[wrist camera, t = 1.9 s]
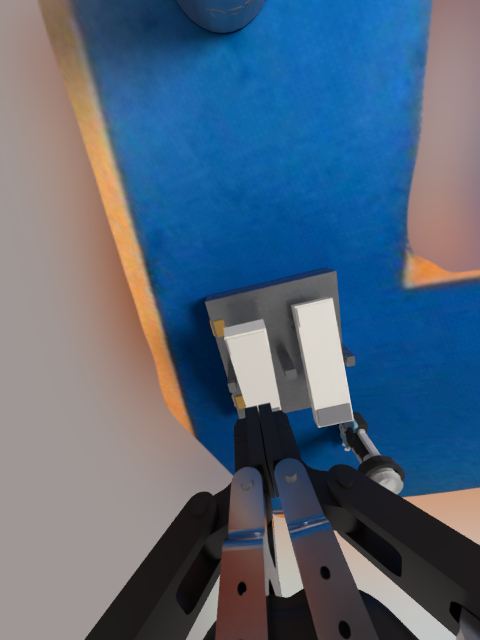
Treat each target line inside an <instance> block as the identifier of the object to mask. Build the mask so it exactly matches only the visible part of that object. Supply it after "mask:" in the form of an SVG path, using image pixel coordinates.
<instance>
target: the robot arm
mask: <svg viewBox="0 0 480 640" xmlns="http://www.w3.org/2000/svg"><path fill="white" fill-rule="evenodd" d="M265 1H266V0H177V2H178V4H179V6H180V7H181V9H182V10H183V11H184V12H185V13H186V14H187V16H188V17H189V18H190V19H191V20H193V21H194V22H195V23H197V24H198V25H199V26H201V27H203V28H205V29H207V30H209V31H213V32H219V33H226V32H233V31H235V30H238V29H240V28H242V27H244V26H245V25H247V24H248V23H249V22H250V21H252V20H253V19H254V18H255V16H256V15H257V14H258V13H259V11H260V10H261V9H262V7H263V5H264V3H265ZM258 409H259V411H258ZM234 443H235V444H234V446H235V475H234V476H233V478H232V482H231V483H230V484H229V485H228V486H227V487H226V488H225V489H224V490H222V491H221V492H219V493H217V494H215V495H214V496H213V495H212V494H210V493H209V492H199V493H197V494H195V495H194V496H193V497H191V499H190V500H189V501H188V502H187V503H186V505H185V506H184V508H183V509H182V510H181V511H180V513H179V514H178V516H177V517H176V518H175V519H174V521H173V522H172V523H171V525H170V526H169V527H168V529H167V530H166V531H165V533H164V534H163V535H162V537H161V538H160V539H159V541H158V542H157V544H156V545H155V546H154V548H153V549H152V550H151V552H150V553H149V554H148V556H147V557H146V558H145V560H144V561H143V562H142V564H141V565H140V566H139V568H138V569H137V570H136V572H135V573H134V574H133V576H132V577H131V578H130V580H129V581H128V582H127V584H126V585H125V586H124V588H123V589H122V590H121V592H120V593H119V594H118V596H117V597H116V598H115V600H114V601H113V602H112V604H111V605H110V606H109V608H108V609H107V610H106V612H105V613H104V615H103V616H102V617H101V618H100V620H99V621H98V622H97V624H96V625H95V626H94V628H93V629H92V630H91V632H90V633H89V634H88V636H87V637H86V638H85V640H186V638H187V636H188V634H189V632H190V630H191V628H192V626H193V624H194V623H195V621H196V619H197V617H198V615H199V613H200V611H201V609H202V607H203V605H204V603H205V602H206V600H207V597H208V596H209V594H210V592H211V590H212V588H213V586H214V585H215V583H216V581H217V579H218V577H219V575H220V583H219V596H218V608H217V620H216V621H215V622H214V624H213V625H212V626H211V628H210V629H209V631H208V632H207V634H206V636H205V637H204V639H203V640H419V639H418V638H417V637H416V636H415V635H414V634H413V633H412V632H411V631H410V630H409V629H408V628H407V627H406V626H405V625H404V624H403V623H402V622H401V621H400V620H399V619H398V618H397V617H396V616H395V615H394V614H393V613H392V612H391V611H390V610H389V609H388V608H387V607H386V606H384V605H383V604H382V603H381V602H379V601H378V600H377V599H375V598H373V597H372V596H371V595H369V594H367V593H365V592H363V591H361V590H358V589H357V586H356V584H355V581H354V579H353V576H352V574H351V572H350V569H349V567H348V564H347V562H346V560H345V557H344V555H343V552H342V550H341V548H340V545H339V543H338V541H337V538H336V536H335V534H334V531H333V530H335V531H337V532H338V534H339V535H340V536H341V537H342V538H344V539H345V540H346V541H347V542H348V543H349V544H350V545H352V546H353V547H354V548H355V549H356V550H357V551H358V552H360V553H361V554H362V555H363V556H364V557H365V558H367V559H368V560H369V561H370V562H371V563H372V564H373V565H375V566H376V567H377V568H378V569H379V570H380V571H382V572H383V573H384V574H385V575H386V576H387V577H388V578H390V579H391V580H392V581H393V582H394V583H395V584H396V585H398V586H399V587H400V588H401V589H402V590H403V591H405V592H406V593H407V594H408V595H409V596H410V597H411V598H413V599H414V600H415V601H416V602H417V603H418V604H419V605H421V606H422V607H423V608H424V609H425V610H426V611H428V612H429V613H430V614H431V615H432V616H433V617H434V618H436V619H437V620H438V621H439V622H440V623H441V624H442V625H444V626H445V627H446V628H447V629H448V630H449V631H451V632H452V633H453V634H454V635H455V636H456V637H457V640H480V545H478V544H476V543H475V542H473V541H472V540H470V539H468V538H467V537H465V536H464V535H462V534H460V533H459V532H457V531H455V530H454V529H452V528H450V527H449V526H447V525H446V524H444V523H442V522H441V521H439V520H437V519H436V518H434V517H433V516H431V515H429V514H428V513H426V512H424V511H423V510H421V509H420V508H418V507H416V506H414V505H413V504H411V503H410V502H408V501H406V500H405V499H403V498H402V497H400V496H398V495H397V494H395V493H393V492H392V491H390V490H388V489H387V488H385V487H384V486H382V485H380V484H379V483H377V482H375V481H374V480H372V479H371V478H369V477H367V476H366V475H364V474H362V473H361V472H359V471H357V470H356V469H354V468H352V467H351V466H348V465H344V464H339V465H335V466H333V467H331V468H330V469H329V471H320V470H315V469H312V468H310V467H308V466H307V465H306V464H305V463H304V462H303V461H302V459H301V457H300V454H299V451H298V448H297V445H296V442H295V439H294V436H293V432H292V429H291V426H290V423H289V420H288V417H287V415H286V414H285V413H284V412H283V411H282V410H279V411H274V412H272V408H271V404H270V403H265V404H260V405H258V407H257V405H256V406H252V407H247V408H245V418H242V419H237V422H236V424H235V426H234ZM272 481H273V482H272ZM273 485H274V488H273ZM274 489H275V493H276V497H279V496H280V500H281V504H282V508H283V512H284V516H285V519H286V523H287V527H288V530H289V534H290V538H291V542H292V546H293V550H294V553H295V557H296V561H297V565H298V568H299V572H300V576H301V580H302V584H303V587H304V589H302V590H300V591H299V592H297V593H296V594H294V595H292V596H291V597H288V598H285V597H282V594H281V587H280V582H279V576H278V566H277V556H276V544H275V533H274V522H273V512H272V504H271V498H275V493H274Z"/></svg>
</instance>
